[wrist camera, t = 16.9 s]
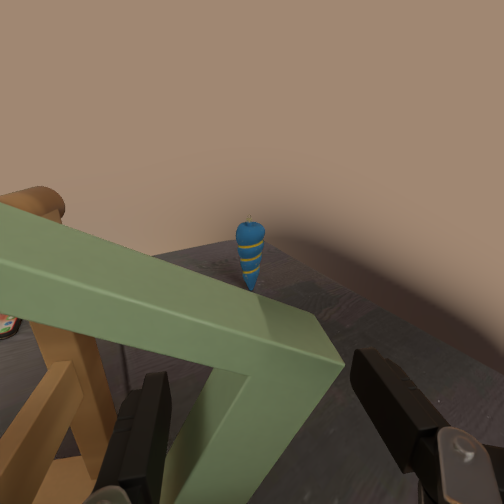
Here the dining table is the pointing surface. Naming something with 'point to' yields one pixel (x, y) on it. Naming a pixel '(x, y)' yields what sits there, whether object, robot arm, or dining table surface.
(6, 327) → the smartphone
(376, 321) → the dining table surface
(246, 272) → the ornament
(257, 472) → the hook
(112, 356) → the dining table surface
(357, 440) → the dining table surface
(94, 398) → the chair
